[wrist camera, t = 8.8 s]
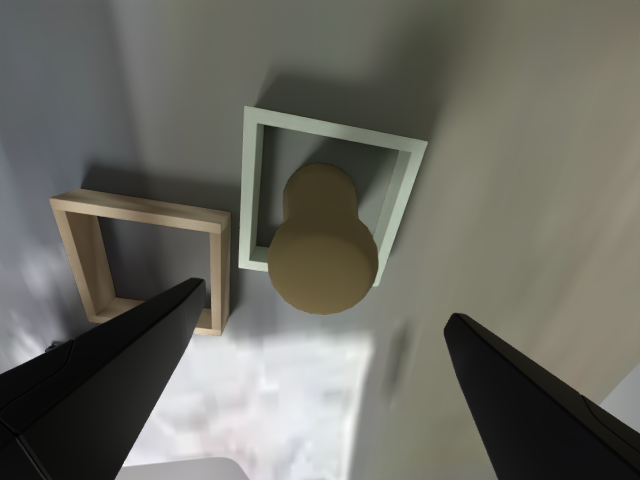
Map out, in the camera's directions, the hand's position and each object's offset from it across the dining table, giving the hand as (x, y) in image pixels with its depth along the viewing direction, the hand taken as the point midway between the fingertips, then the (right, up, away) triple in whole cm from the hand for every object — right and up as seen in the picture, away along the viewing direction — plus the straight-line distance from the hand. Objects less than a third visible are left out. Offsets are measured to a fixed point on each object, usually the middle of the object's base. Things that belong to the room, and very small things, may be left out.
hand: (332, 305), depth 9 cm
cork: (0, +6, +11) cm, 13 cm away
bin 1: (-14, 0, +14) cm, 20 cm away
